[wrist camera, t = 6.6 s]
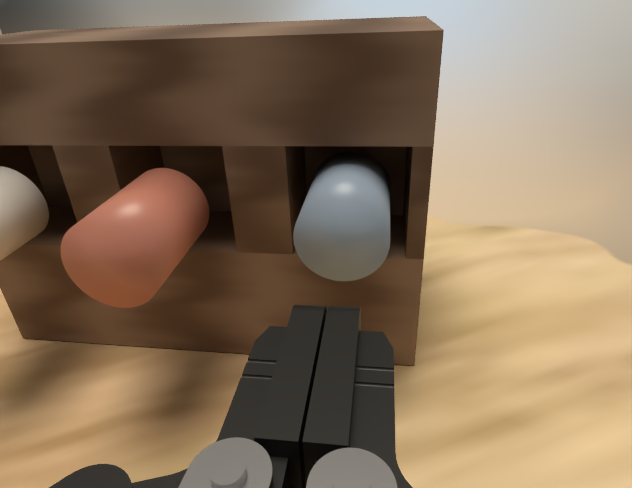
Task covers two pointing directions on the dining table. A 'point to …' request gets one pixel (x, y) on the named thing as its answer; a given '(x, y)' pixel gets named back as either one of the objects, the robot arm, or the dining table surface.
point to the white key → (19, 211)
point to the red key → (135, 238)
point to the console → (219, 166)
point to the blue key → (345, 218)
